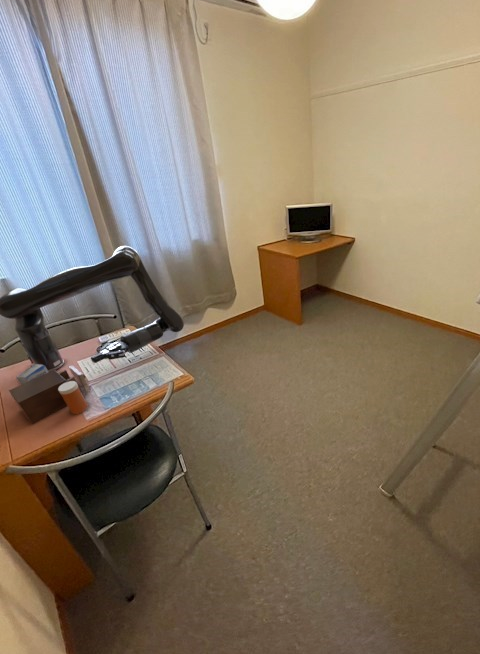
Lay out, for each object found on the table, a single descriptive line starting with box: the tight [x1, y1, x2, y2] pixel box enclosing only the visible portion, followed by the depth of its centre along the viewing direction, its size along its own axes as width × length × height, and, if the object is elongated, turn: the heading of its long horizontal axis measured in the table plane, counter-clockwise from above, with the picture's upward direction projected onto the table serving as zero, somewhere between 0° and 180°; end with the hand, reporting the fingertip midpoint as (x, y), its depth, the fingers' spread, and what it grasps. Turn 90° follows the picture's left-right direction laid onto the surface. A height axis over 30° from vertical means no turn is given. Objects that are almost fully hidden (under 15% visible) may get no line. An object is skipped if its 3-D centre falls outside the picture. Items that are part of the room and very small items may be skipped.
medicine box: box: [15, 364, 48, 385], centre depth 121 cm, size 8×4×9 cm, turn 168°
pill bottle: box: [58, 381, 89, 415], centre depth 109 cm, size 5×5×10 cm
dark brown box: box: [8, 370, 68, 425], centre depth 112 cm, size 14×11×9 cm
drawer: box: [58, 364, 91, 394], centre depth 116 cm, size 14×9×7 cm
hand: (92, 360), depth 122 cm, fingers closed
